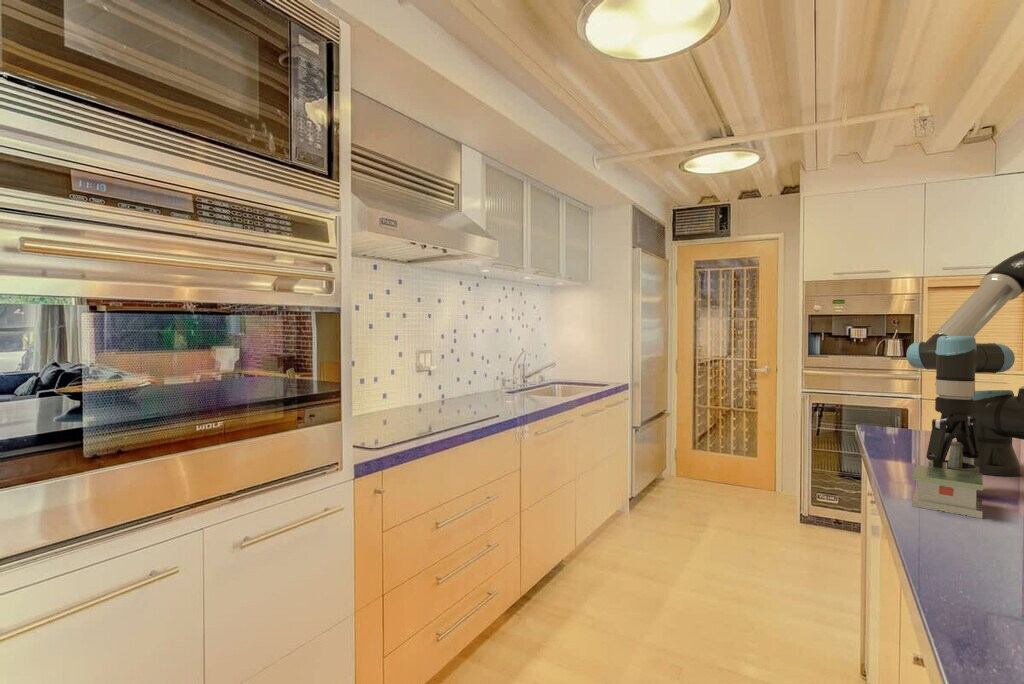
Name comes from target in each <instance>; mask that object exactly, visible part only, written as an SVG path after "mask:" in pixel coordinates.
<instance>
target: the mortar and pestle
mask: <svg viewBox="0 0 1024 684" xmlns="http://www.w3.org/2000/svg"><path fill="white" fill-rule="evenodd" d="M963 447H964V445H963V444H962V443H961V442H957V440H956V441H955V440H952V443H951V445H950V449H949V456H948V460H947V459H945V462H947V469H951V470H958V471H966V472H973V473H979V466H976V465H973V464H970V463H965V462H963ZM928 466H929V467H933V460H929V461H928Z"/></svg>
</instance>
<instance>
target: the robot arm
mask: <svg viewBox="0 0 1024 684" xmlns="http://www.w3.org/2000/svg"><path fill="white" fill-rule="evenodd" d="M1023 293H1024V250H1022V251H1020V252H1018V253H1016V254H1013V255H1011V256H1009V257H1007V258H1006V259H1004V260H1002V261H1001V262H999V263H998V264H997V265H995V266H994V267H993V268H991V269H990V270H989V271H988V272H987V273H986V274H985V275H984V276H983V277H982V278H981V279H980V281H979V286H978V288H977V289H976V290H975V291H974V292H973V293H972V294H971V295H970V296H969V297H968V298H967V299H966V300H965V301H964V302H963V303H962V304H961V305H960V307H958V308H957V310H955V311H954V312H953V313H952V315H951V316H949V318H947V320H946V321H945V322H944V323H942V325H941V326H939V328H938V329H937V330H936V331H935V332H934V333H933V334H932V335H931V336H930V337H929V338H928V339H927V340H926V341H920V342H913V343H911V344H910V345H909V346H908V347H907V349H906V356H905V357H906V360H907V362H908V364H909V365H910V366H912V368H916V369H923V370H931V371H933V370H935V373H936V376H935V383H934V385H935V394H936V397H935V399H934V401H935V403H934V410H935V411H936V412H938V413H940V414H941V416H940V419H935V418H933V419H932V420H931V431H930V437H929V442H928V446H927V450H926V459H927V460H929V461H930V460H933V467H936V468H943V469H947V462H945V460H947V455H948V453H949V452H950V449H951V443H952V442H953V441H954V439H955V440H956V441H957V442H961V443H962V444H963V445H964V447H963V462H965V463H970V464H973V465H976V466H979V473H981V474H982V475H983V474H984V475H989V476H1000V477H1001V476H1002V477H1006V476H1007V477H1010V476H1011V477H1014V476H1019V475H1021V463H1020V461H1019V459H1018V457H1017V454H1016V451H1015V449H1014V446H1013V439H1018V440H1024V385H1022V386H1020V387H1019V388H1018V392H1017V395H1015V394H1014V391H1013V390H1012V389H999V390H998V389H992V390H976V374H997V373H1004V372H1007V371H1008V370H1010V369H1011V368H1013V366H1014V364H1015V360H1016V357H1015V352H1013V350H1012V349H1011V348H1010V347H1009V346H1008V345H1005V344H1002V343H995V342H993V343H991V342H989V343H977V342H976V338H975V337H976V335H977V334H978V333H979V332H981V330H982V329H983V328H984V327H985V326H986V325H987V324H988V323H989V322H990V321H991V320H992V319H993V318H994V316H995V315H996V314H997V313H999V311H1000V310H1001V309H1002V308H1003V307H1004V306H1005V305H1007V303H1008V302H1009V301H1012V300H1013V301H1014V300H1015V299H1017V298H1018V297H1019V296H1020V295H1021V294H1023Z"/></svg>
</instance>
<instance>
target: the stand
mask: <svg viewBox="0 0 1024 684" xmlns="http://www.w3.org/2000/svg"><path fill="white" fill-rule="evenodd" d="M911 476H912V478H911V480H912V481H916V482H917V487H916V488H915V491H914V494H913V497H912V498H911V507H914V508H919V509H920V508H921V509H926V510H931V509H932V511H937V510H940V511H939V512H942V511H945V512H944V513H948V512H951V513H950V514H954V513H956V514H955V515H959V514H961V515H960V516H965V515H967V516H966V517H971V518H977V519H983V498H982V497H977V491H982V492H983V491H984V485H983V483H984V482H983V480H984V479H983V474H981V473H973V472H966V471H958V470H951V469H943V468H936V467H929V465H919V464H917V465H915V468H914V470H913V473H912V475H911Z"/></svg>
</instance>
